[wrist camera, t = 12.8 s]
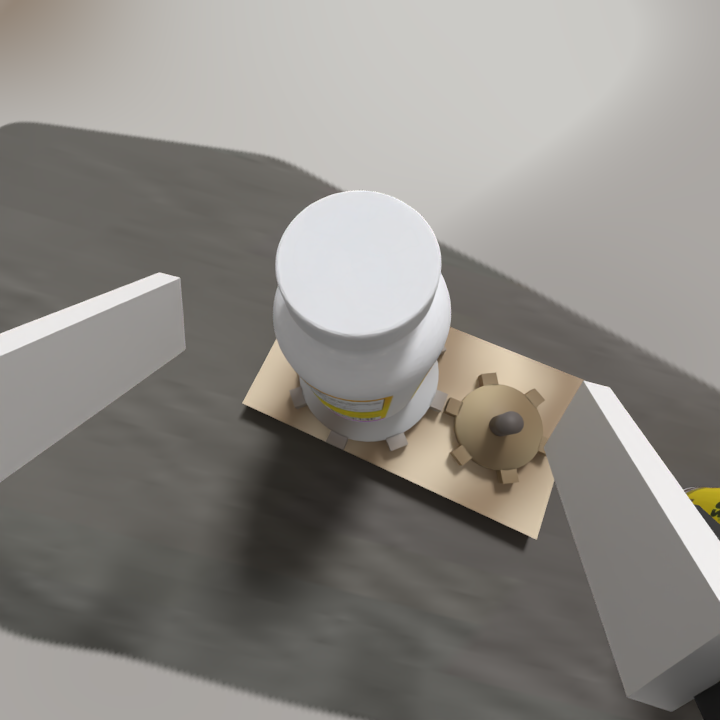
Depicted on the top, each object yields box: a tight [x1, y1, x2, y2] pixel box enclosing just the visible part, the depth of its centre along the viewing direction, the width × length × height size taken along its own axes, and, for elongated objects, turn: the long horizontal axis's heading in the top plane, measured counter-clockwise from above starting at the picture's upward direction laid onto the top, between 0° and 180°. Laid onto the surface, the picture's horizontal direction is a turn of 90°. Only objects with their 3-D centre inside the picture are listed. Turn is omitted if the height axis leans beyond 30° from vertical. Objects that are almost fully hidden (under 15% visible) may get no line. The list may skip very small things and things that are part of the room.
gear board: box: [243, 327, 584, 540], centre depth 22 cm, size 19×10×4 cm, turn 66°
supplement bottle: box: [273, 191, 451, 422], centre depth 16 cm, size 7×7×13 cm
